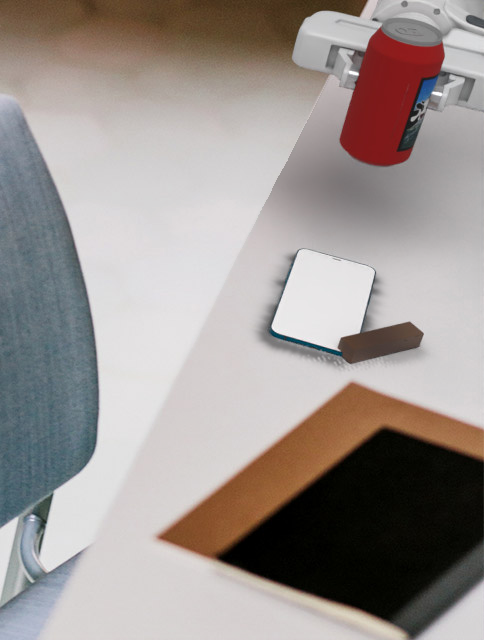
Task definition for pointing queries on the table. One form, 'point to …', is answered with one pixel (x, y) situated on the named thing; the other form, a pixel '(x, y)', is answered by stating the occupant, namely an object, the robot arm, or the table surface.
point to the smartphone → (322, 301)
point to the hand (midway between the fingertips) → (392, 91)
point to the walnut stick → (380, 342)
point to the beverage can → (392, 92)
